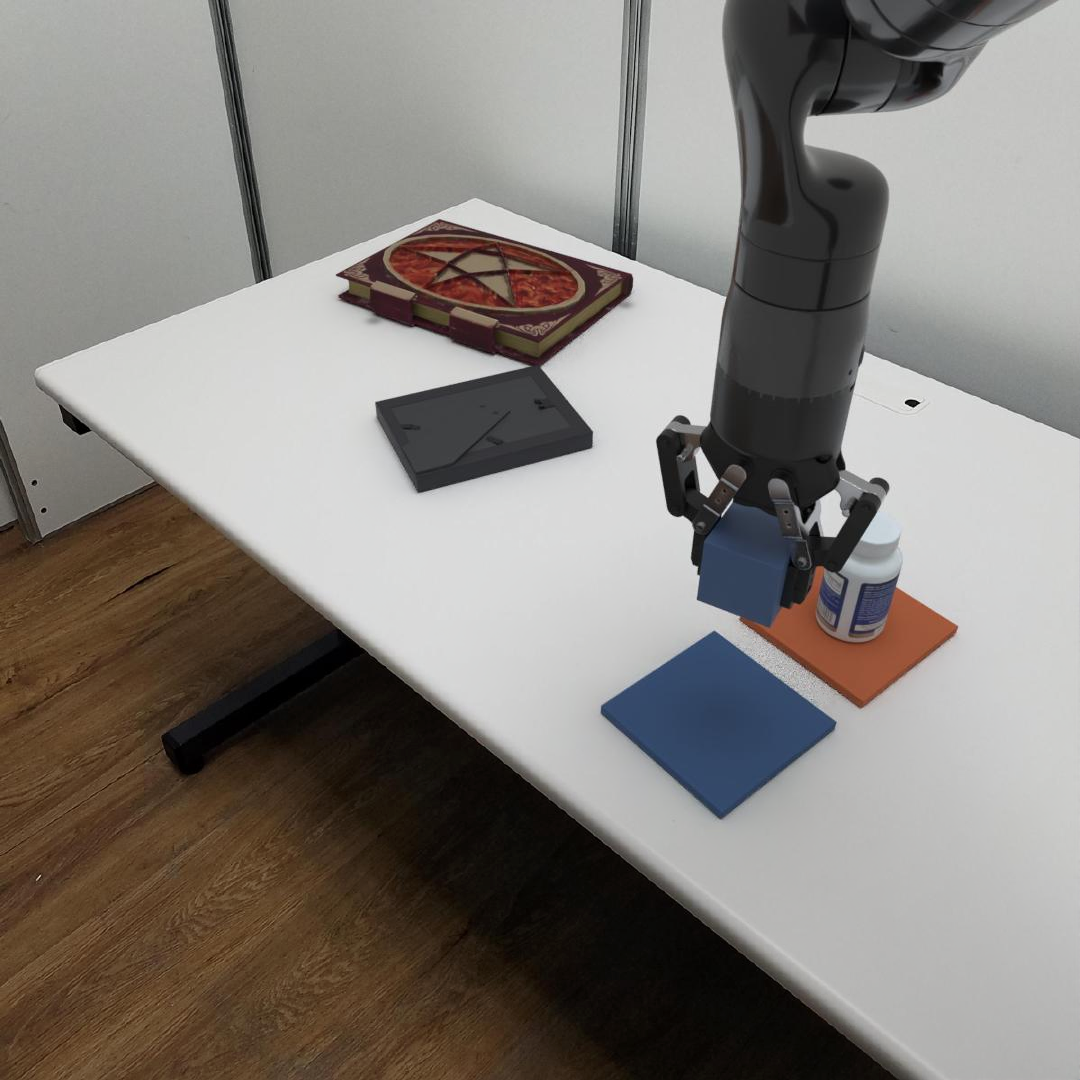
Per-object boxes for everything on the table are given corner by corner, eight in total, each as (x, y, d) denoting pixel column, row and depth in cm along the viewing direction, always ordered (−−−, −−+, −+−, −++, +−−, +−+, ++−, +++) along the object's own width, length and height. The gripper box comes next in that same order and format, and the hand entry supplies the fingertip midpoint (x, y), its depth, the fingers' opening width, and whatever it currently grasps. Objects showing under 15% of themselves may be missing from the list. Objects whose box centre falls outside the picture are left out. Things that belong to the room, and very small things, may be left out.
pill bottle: (890, 608, 85) (917, 514, 79) (876, 653, 81) (904, 558, 75) (822, 589, 87) (844, 495, 80) (806, 632, 83) (828, 537, 77)
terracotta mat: (956, 633, 84) (958, 626, 83) (861, 708, 78) (863, 701, 78) (834, 556, 91) (836, 548, 91) (739, 619, 85) (740, 612, 85)
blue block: (797, 581, 70) (810, 522, 66) (769, 628, 66) (781, 569, 63) (726, 555, 71) (735, 497, 68) (696, 600, 68) (703, 541, 65)
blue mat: (835, 729, 77) (837, 721, 76) (720, 819, 71) (721, 812, 71) (713, 637, 84) (714, 629, 83) (600, 712, 78) (600, 705, 78)
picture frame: (417, 493, 98) (592, 447, 103) (415, 473, 96) (593, 428, 102) (376, 417, 107) (538, 379, 112) (374, 399, 106) (538, 361, 111)
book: (632, 297, 127) (634, 257, 124) (534, 372, 114) (535, 330, 110) (442, 241, 139) (440, 204, 136) (334, 302, 126) (329, 263, 122)
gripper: (637, 351, 58) (622, 581, 69) (899, 428, 52) (837, 664, 63) (694, 294, 63) (672, 517, 74) (940, 358, 57) (875, 589, 68)
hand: (748, 584), depth 68 cm, fingers closed on blue block, 5 cm apart
